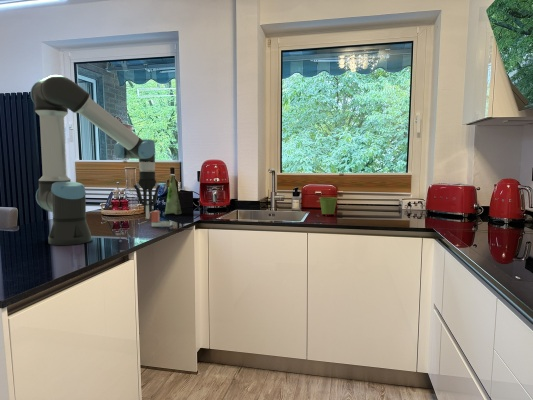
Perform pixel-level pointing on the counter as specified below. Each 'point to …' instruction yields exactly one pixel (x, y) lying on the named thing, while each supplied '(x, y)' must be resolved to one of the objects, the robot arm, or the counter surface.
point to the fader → (155, 216)
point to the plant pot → (328, 204)
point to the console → (162, 224)
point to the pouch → (172, 198)
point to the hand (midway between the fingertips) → (148, 218)
